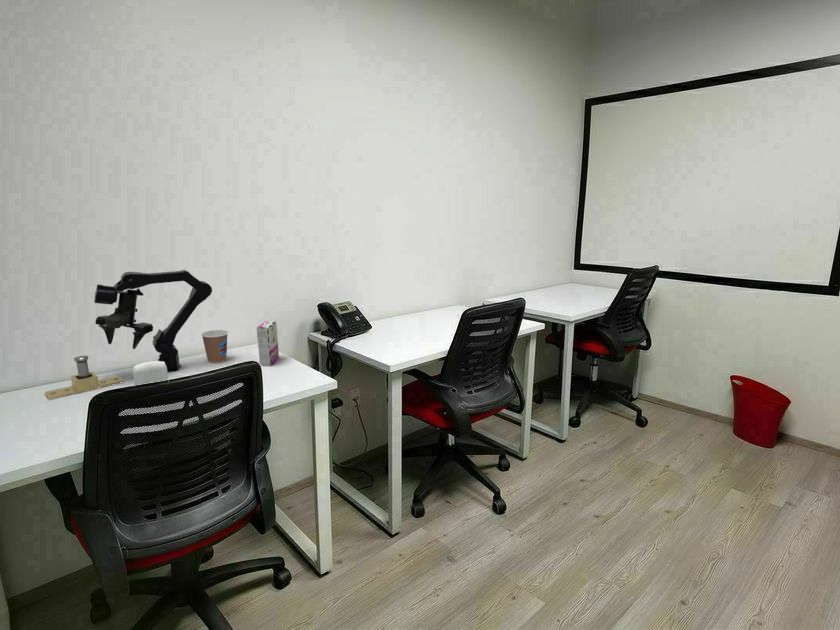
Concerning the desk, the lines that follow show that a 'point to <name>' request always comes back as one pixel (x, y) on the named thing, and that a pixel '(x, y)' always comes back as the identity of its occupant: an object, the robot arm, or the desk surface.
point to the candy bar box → (267, 342)
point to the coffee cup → (215, 345)
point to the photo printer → (150, 372)
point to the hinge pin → (82, 366)
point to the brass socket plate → (83, 385)
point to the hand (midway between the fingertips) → (121, 346)
